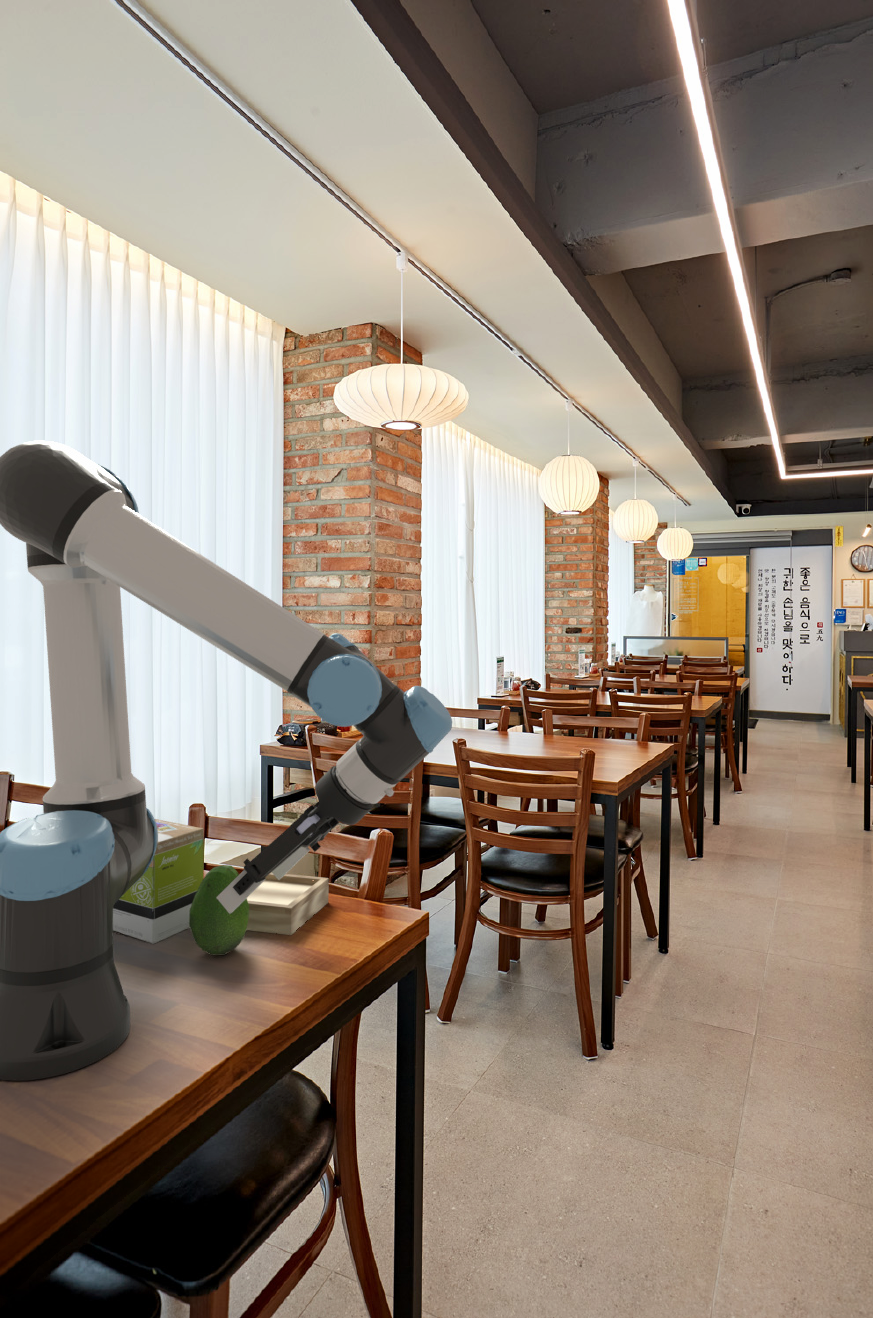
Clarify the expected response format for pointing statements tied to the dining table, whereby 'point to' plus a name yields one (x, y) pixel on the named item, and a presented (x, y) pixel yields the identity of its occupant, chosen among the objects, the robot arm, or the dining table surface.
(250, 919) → the wooden tray
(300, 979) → the dining table surface
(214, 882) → the avocado
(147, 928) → the tea box
